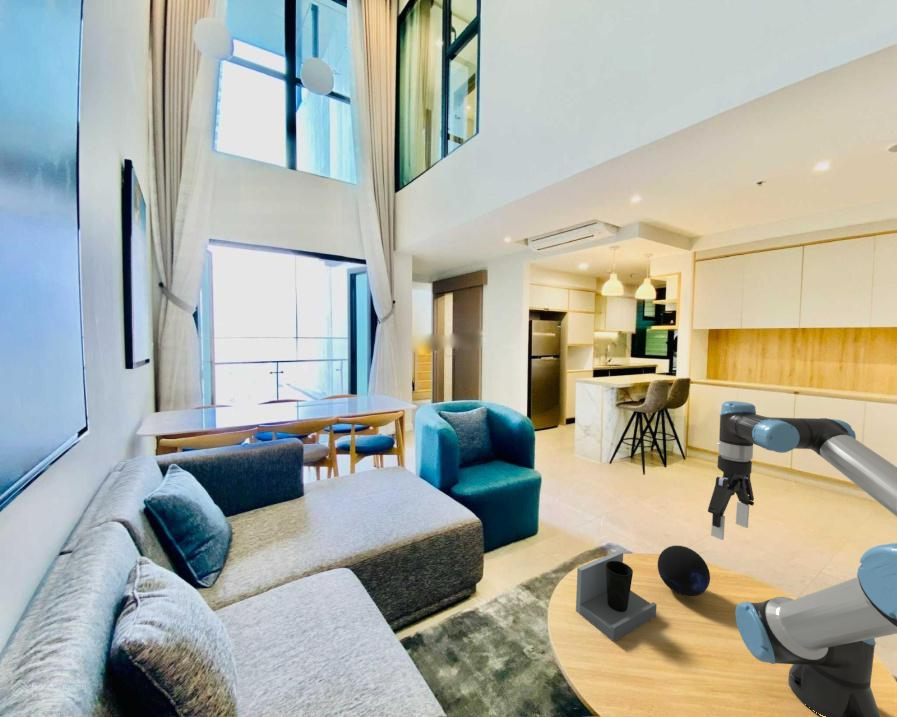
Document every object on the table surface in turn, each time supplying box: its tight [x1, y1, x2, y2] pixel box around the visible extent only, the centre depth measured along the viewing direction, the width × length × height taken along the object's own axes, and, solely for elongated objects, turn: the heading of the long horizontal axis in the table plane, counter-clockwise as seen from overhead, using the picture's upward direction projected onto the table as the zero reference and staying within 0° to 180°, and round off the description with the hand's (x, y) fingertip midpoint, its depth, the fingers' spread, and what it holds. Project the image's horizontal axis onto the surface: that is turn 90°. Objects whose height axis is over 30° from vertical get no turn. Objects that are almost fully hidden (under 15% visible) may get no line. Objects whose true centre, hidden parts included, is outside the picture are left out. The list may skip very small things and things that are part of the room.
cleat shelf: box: [575, 550, 657, 642], centre depth 116 cm, size 14×20×14 cm
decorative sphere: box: [657, 545, 711, 597], centre depth 127 cm, size 15×15×15 cm
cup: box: [606, 561, 634, 612], centre depth 116 cm, size 8×8×12 cm
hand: (729, 531), depth 106 cm, fingers open, 13 cm apart
